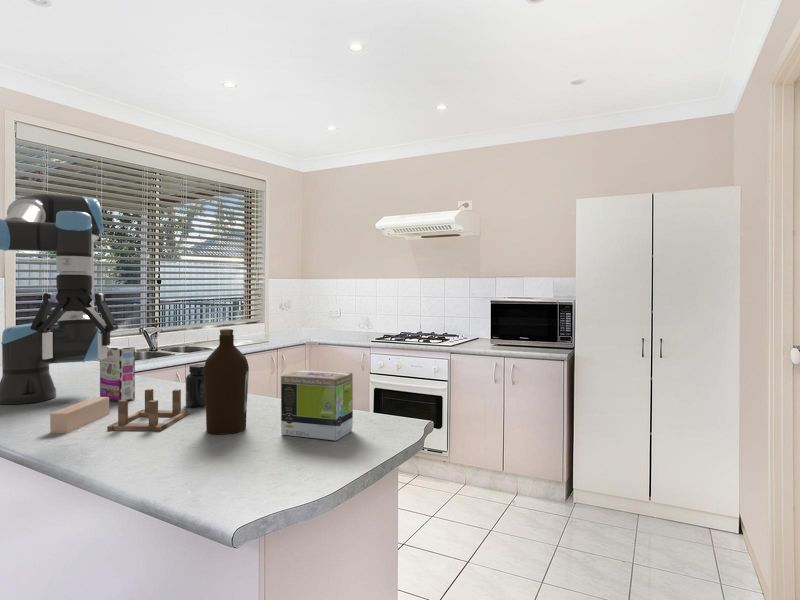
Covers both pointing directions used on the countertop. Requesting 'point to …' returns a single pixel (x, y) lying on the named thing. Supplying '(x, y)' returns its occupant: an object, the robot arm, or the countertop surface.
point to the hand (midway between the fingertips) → (75, 358)
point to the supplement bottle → (195, 387)
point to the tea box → (317, 404)
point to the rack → (149, 414)
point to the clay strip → (78, 415)
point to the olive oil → (226, 387)
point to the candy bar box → (118, 373)
